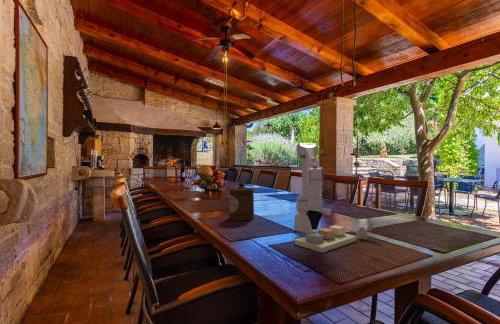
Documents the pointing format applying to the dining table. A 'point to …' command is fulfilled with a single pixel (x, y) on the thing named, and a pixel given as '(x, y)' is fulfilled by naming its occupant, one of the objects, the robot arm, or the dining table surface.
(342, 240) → the panel
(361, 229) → the lighter
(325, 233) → the key terracotta
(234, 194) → the wooden container
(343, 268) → the dining table surface
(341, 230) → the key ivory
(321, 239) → the key slate
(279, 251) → the dining table surface
